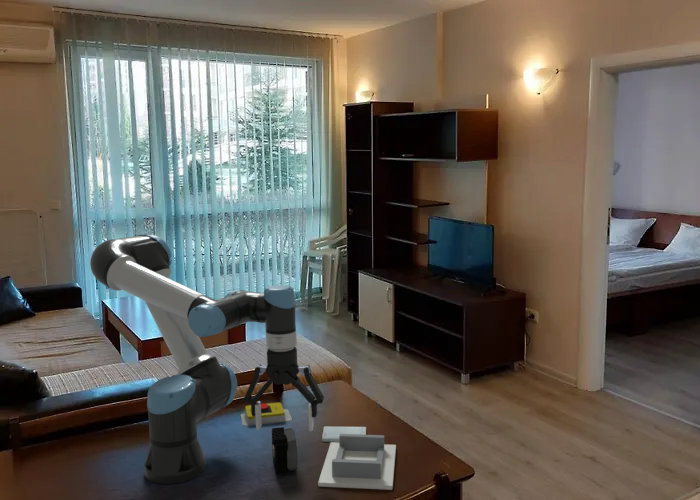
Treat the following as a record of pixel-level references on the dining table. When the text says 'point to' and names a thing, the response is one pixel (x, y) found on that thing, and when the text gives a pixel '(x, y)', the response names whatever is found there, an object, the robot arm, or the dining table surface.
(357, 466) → the housing
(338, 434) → the hard drive
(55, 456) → the dining table surface
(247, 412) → the emergency button
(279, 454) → the cpu cooler
